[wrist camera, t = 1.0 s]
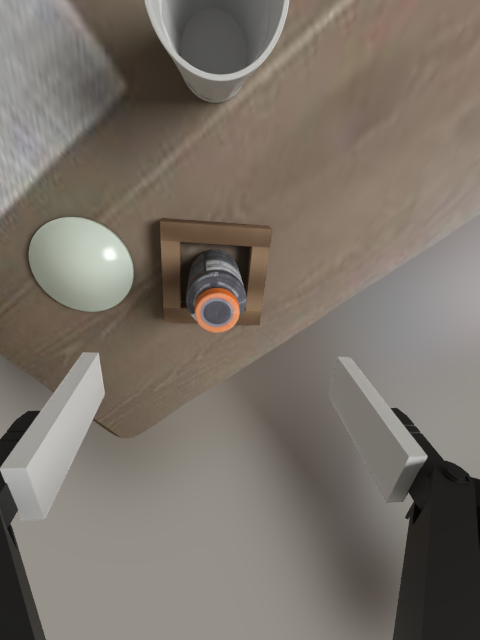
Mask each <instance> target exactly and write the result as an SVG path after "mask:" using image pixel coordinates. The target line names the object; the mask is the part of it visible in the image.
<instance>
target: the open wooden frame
mask: <svg viewBox="0 0 480 640" xmlns="http://www.w3.org/2000/svg"><path fill="white" fill-rule="evenodd" d="M160 236H161V261H162V286H163V312H164V322H172V323H198V322H197V321H196V320H195V319H194V318H193V317H192V316H191V314H190V313H189V311H188V309H187V305H186V302H182V283H181V242H191V243H206V244H221V245H236V246H250V249H249V258H248V268H247V278H246V287H245V291H246V298H247V300H246V301H247V302H246V306H245V309H244V311H243V313H242V315H241V316H240V317H239V318H238V321H237V322H236V325H259V324H260V317H261V309H262V302H263V295H264V287H265V280H266V273H267V265H268V258H269V251H270V243H271V236H272V229H271V228H270V227H269V226H260V225H247V224H234V223H221V222H207V221H194V220H181V219H168V218H162V219H161V220H160Z"/></svg>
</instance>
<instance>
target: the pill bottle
mask: <svg viewBox="0 0 480 640" xmlns="http://www.w3.org/2000/svg"><path fill="white" fill-rule="evenodd" d="M246 300H247V298H246V291H245V288H244V285H243V282H242V279H241V276H240V273H239V269H238V266H237V264H236V262H235V260H234V259H233V258H232V257H231V256H230V255H228V254H227V253H225V252H223V251H219V250H209V251H206V252H203V253H201V254H200V255H199V256H197V257H196V258H195V260H194V261H193V263H192V265H191V268H190V273H189V280H188V287H187V293H186V305H187V309H188V311H189V313H190V314H191V316H192V317H193V318H194V319H195V320H196V321H197V322H198V324H199V325H200V326H201V327H202V328H203V329H205V330H207V331H209V332H214V333H220V332H224V331H227V330H229V329H231V328H232V327H233V326H234V325H235V324H236V322H237V321H238V318H239V317H240V316H241V315H242V313H243V311H244V309H245V306H246V302H247V301H246Z"/></svg>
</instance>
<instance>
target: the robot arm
mask: <svg viewBox="0 0 480 640" xmlns="http://www.w3.org/2000/svg"><path fill="white" fill-rule="evenodd" d="M327 394H328V397H329V398H330V400H331V402H332V404H333V406H334V407H335V409H336V411H337V413H338V415H339V417H340V418H341V420H342V422H343V424H344V426H345V428H346V429H347V431H348V433H349V435H350V437H351V439H352V441H353V442H354V444H355V446H356V448H357V450H358V451H359V453H360V455H361V457H362V459H363V461H364V463H365V464H366V466H367V468H368V470H369V472H370V474H371V475H372V477H373V479H374V481H375V482H376V485H377V486H378V488H379V490H380V492H381V494H382V496H383V497H384V499H385V501H386V503H388V502H403V501H404V500H405V498H406V496H407V494H408V492H409V494H410V495H411V497H412V499H413V500H414V502H413V504H412V506H411V507H410V509H409V511H408V513H407V515H406V517H405V518H406V519H408V518H409V517H410V520H409V527H408V534H407V541H406V548H405V555H404V563H403V570H402V577H401V585H400V591H399V599H398V606H397V613H396V620H395V628H394V635H393V640H480V479H476V478H472V477H470V476H469V474H468V473H467V472H466V471H464V470H463V469H462V468H461V467H459V466H457V465H456V464H454V463H451V462H448V461H444V460H443V459H442V457H441V456H440V455H439V454H438V453H437V451H436V450H435V449H434V448H433V447H432V445H431V444H430V443H429V442H428V441H427V439H426V438H425V437H424V436H423V434H421V433H420V431H419V430H418V428H417V427H416V426H414V424H413V423H412V421H411V420H410V419H409V418H408V417H407V415H405V414H404V413H403V412H401V411H400V410H399V409H397V408H390V407H389V406H388V405H387V404H386V402H385V401H384V400H383V398H382V397H381V396H380V395H379V394H378V392H377V391H376V389H375V388H374V387H373V386H372V384H371V383H370V382H369V381H368V380H367V378H366V377H365V375H364V374H363V373H362V372H361V370H360V369H359V368H358V367H357V365H356V364H355V363H354V361H353V360H352V359H351V358H350V357H337V361H336V365H335V368H334V372H333V375H332V379H331V383H330V386H329V390H328V393H327ZM104 395H105V391H104V385H103V379H102V372H101V366H100V359H99V353H85V352H83V353H82V354H81V356H80V357H79V359H78V360H77V361H76V363H75V364H74V366H73V367H72V368H71V370H70V371H69V372H68V374H67V375H66V377H65V378H64V379H63V381H62V382H61V384H60V385H59V386H58V388H57V389H56V391H55V392H54V393H53V395H52V396H51V398H50V399H49V400H48V402H47V403H46V405H45V406H44V407H43V409H42V410H41V411H28V412H26V413H25V414H23V415H22V416H21V417H19V418H18V419H17V420H16V421H15V422H14V423H13V424H12V425H11V427H10V428H9V429H8V430H7V433H5V434H4V436H3V437H2V438H1V439H0V640H46V639H45V636H44V632H43V629H42V625H41V622H40V619H39V615H38V612H37V609H36V605H35V602H34V599H33V595H32V592H31V589H30V585H29V582H28V579H27V576H26V572H25V569H24V565H23V562H22V559H21V555H20V552H19V549H18V545H17V542H16V539H15V535H14V532H13V529H12V526H11V524H10V523H11V521H12V520H13V518H14V516H15V514H16V512H17V511H18V513H19V516H20V519H21V521H27V520H45V518H46V516H47V514H48V512H49V510H50V508H51V505H52V503H53V501H54V499H55V497H56V495H57V493H58V491H59V489H60V487H61V485H62V483H63V481H64V478H65V476H66V474H67V472H68V470H69V468H70V466H71V464H72V462H73V460H74V458H75V455H76V453H77V451H78V449H79V447H80V445H81V443H82V441H83V438H84V437H85V435H86V433H87V430H88V428H89V426H90V424H91V422H92V420H93V418H94V416H95V414H96V412H97V410H98V408H99V405H100V403H101V401H102V399H103V397H104Z"/></svg>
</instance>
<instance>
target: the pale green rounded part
mask: <svg viewBox="0 0 480 640" xmlns="http://www.w3.org/2000/svg"><path fill="white" fill-rule="evenodd" d="M29 263H30V267H31V270H32V273H33V275H34V277H35V279H36V280H37V282H38V283H39V285H40V286H41V287H42V289H43V290H44V291H45V292H46V293H47V294H48V295H50V296H51V297H52V298H53V299H55V300H56V301H58V302H59V303H61V304H63V305H65V306H68V307H70V308H73V309H76V310H81V311H88V312H96V311H103V310H106V309H109V308H112V307H114V306H115V305H117V304H118V303H120V302H121V301H122V300H123V299H124V298H125V297H126V295H127V294H128V292H129V291H130V289H131V287H132V284H133V280H134V264H133V260H132V257H131V255H130V252H129V250H128V249H127V247H126V245H125V244H124V242H123V241H122V240H121V239H120V238H119V237H118V236H117V235H116V234H115V233H114V232H113V231H112V230H111V229H109V228H108V227H106V226H105V225H103V224H101V223H99V222H97V221H94V220H91V219H88V218H84V217H77V216H69V217H62V218H59V219H55V220H53V221H50V222H48V223H46V224H45V225H43V226H42V227H41V228H40V229H39V230H38V231H37V232H36V233H35V235H34V236H33V238H32V240H31V243H30V246H29Z"/></svg>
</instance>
